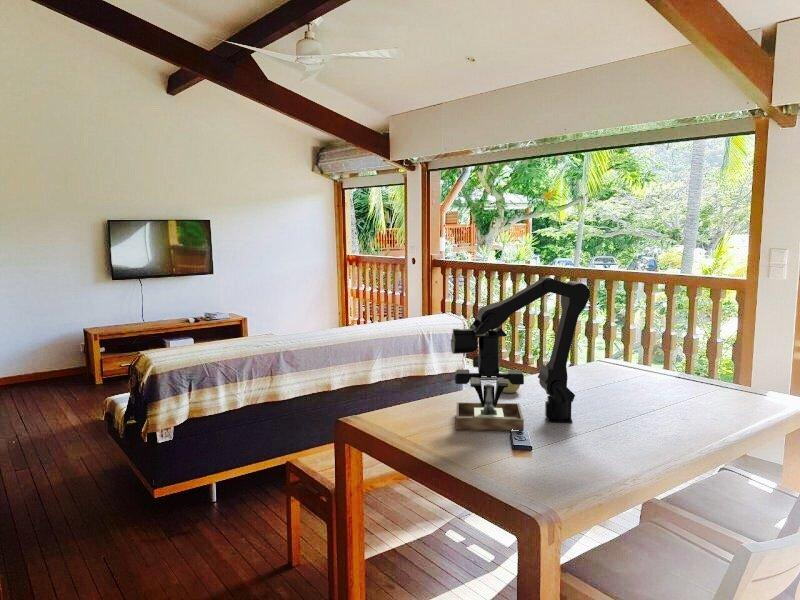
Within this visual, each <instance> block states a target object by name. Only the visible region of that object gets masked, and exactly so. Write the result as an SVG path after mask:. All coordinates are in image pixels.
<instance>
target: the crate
mask: <svg viewBox="0 0 800 600" xmlns="http://www.w3.org/2000/svg"><path fill="white" fill-rule="evenodd" d="M474 408H484V407H482V405H481V402H460V401H459V402H456V414H455V420H456V421H455V423H456V424H455V426H456V427H455V430H456V431H455V432H458V431H459V432H493V433H494V432H495V433H496V432H502V433H511V432H510V431H511V430H512V429H513V430H519V431H524V432H525V430H524V424H525V423H524V421H525V418H524V415H523V413H522V409H521V406H520V403H516V402H514V403H513V402H511V403H510V402H497V405H496V407H494V408H502V410H503V415H504V418H474Z"/></svg>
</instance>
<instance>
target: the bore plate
mask: <svg viewBox="0 0 800 600" xmlns="http://www.w3.org/2000/svg"><path fill="white" fill-rule="evenodd" d="M474 418H504V415H503V410H502V408H494V415H485V414H484V408H474Z"/></svg>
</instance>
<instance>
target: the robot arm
mask: <svg viewBox="0 0 800 600" xmlns="http://www.w3.org/2000/svg"><path fill="white" fill-rule="evenodd" d="M549 293H552V294H556V295H560V308H561V315H560V318H559V322H558V326H557V329H556V330H557V331H556V334H555V338H554V342H553V347H552V352H551V355H550V358H549V361H548V362H547V363H546V365H545V364H543V363H542V364H540V369H539V370H540V371H539V374H538V376H537V378H538V379H539V381H538V383H539V385H540V387H541V388H542V389H544V391H545V392H546V394H547V398H546V399H547V400H546V401H545V405H544V407H545V408H544V416H545V418H546V419H547V421H548V422H549V423H573V419H572V404H573V402H574V400H575V397H576V395H575V393H574V392H573V391H571V389H570V388H569V387H568V368H567V363H568V360H569V355H570V351H571V347H572V343H573V339H574V336H575V332H576V327H577V324H578V323H577V322H578V320H579V316H580V315H581V314H582V313H583V310H584V309H585V308H586V306H587V303H588V302H589V299H590V298H591V290H590V289H589V287H588V286H587V285H586V284H584V283H582V282H578V281H575V280H570V281H567V282H564V281H561V280H560V281H559V280H556V279H554V278H552V277H549V276H542V277H541V278H539V279H538V280H537V281H535V282H534V283H532V284H530V285H529V286H526V287H525V288H523V289H521V290H519V291H518V292H516V293H514V294H512V295H510V296H509V297H507V298H506V299H504V300H500V301H496V302H493V303H490V304H487V305H484V306H482V307H481V308H479V309H478V310H477V314H476V318H475V320H474V321H473V322H472V323H471V325H470V326H469V328H463V329H462V328H461V329H460V328H452V334H451V339H450V347H451V353H452V354H453V355H454V354H455V355H457V354H473V353H474V352H476V351H477V349H478V355H473V356H472V367H473V368H477V371H478V372H470V369H460V368H459V369H456V370H455V372H454V373H455V374H454V375H455V376H454V381H455V382H454V383H455V384H456V385H468V384H469V382H470V387H471V388H474V389H475V392H476V394H477V395H478V398H479V401H480V402H479V403H481V405H482V407H484V392H483V387H482V381H495V389H494V407H496V405H497V403H499V400H500V396H501V395H502V393H503V392H502V391H503V389H504V388H505V387H508V383H507V382H508V380H509V381H510V383H511V384H512V385H520V386H522V385H524V384H525V375H524V373H523V371H522V370H521V369H509V370H508V369H507V372H508V373H503V372H500V338H501V337H502V338H503V337H507V336H508V334H507V333H506V332H505V331H504V330H503V328H502V327H501V326H502V325H503V324H505V322H506V321H507V320H509V318H510V317H511V315H513V314H514V313H516V312H517V311H520V310H521V309H523V308H525V307H526V306H528V305H530V304H532V303H533V302H535V301H537V300H538V299H540V298H542V297H544V296H546V295H547V294H549Z"/></svg>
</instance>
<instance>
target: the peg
mask: <svg viewBox="0 0 800 600" xmlns="http://www.w3.org/2000/svg"><path fill="white" fill-rule="evenodd" d="M494 398H495V385H494V384H489V383H487V384H483V401H484V414H485V415H494Z"/></svg>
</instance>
